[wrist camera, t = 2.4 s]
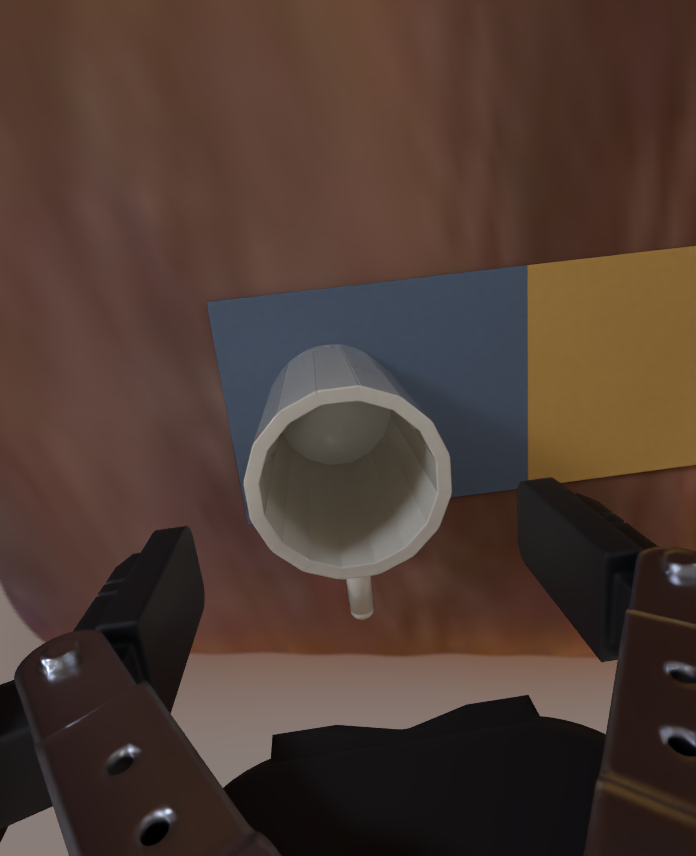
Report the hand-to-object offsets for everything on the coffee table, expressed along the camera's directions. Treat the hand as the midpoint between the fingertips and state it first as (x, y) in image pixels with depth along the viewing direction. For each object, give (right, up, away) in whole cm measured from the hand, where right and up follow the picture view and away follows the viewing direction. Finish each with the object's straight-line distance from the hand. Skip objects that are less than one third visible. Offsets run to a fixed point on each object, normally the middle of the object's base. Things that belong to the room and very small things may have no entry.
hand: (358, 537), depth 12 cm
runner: (+6, +5, +12) cm, 15 cm away
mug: (-1, +2, +12) cm, 12 cm away
